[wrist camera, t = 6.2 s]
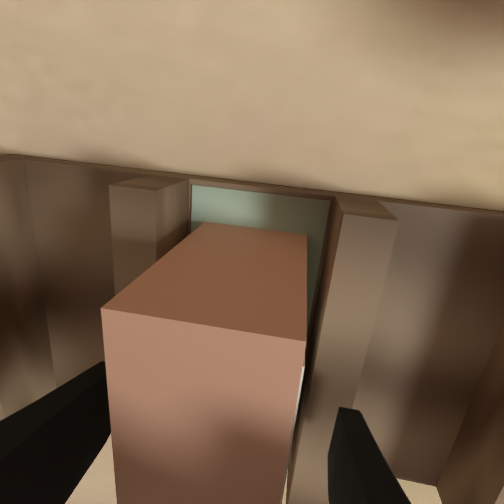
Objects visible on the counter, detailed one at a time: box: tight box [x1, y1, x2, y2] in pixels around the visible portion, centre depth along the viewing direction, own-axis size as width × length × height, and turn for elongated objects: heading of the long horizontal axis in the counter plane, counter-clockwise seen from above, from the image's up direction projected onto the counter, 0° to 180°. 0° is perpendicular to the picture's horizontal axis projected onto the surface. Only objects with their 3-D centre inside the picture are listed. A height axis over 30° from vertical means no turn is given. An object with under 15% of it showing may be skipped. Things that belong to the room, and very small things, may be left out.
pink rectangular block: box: [101, 222, 307, 504], centre depth 11 cm, size 4×10×7 cm, turn 175°
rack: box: [0, 154, 504, 504], centre depth 14 cm, size 13×22×4 cm, turn 85°
